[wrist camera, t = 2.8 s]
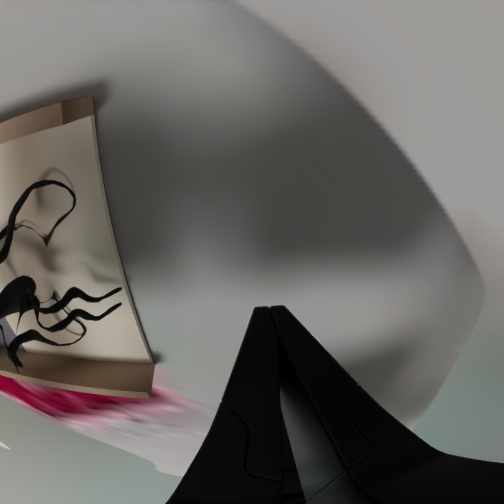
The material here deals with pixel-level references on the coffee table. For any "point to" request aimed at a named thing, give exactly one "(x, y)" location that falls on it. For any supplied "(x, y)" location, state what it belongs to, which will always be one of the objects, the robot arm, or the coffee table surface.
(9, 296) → the creature
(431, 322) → the coffee table surface
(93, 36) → the coffee table surface
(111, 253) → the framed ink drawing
